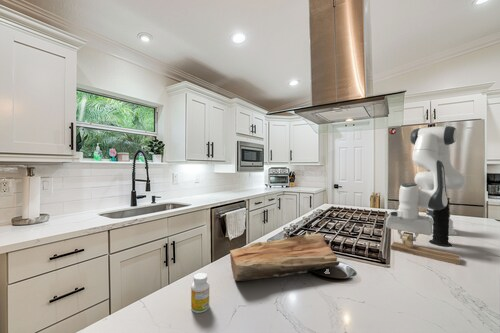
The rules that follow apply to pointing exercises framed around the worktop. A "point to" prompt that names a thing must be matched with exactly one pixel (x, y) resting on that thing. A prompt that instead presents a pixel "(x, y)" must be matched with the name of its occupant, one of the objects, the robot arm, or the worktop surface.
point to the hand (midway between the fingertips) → (407, 239)
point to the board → (426, 252)
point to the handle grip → (441, 227)
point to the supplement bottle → (200, 293)
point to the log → (282, 257)
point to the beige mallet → (407, 238)
